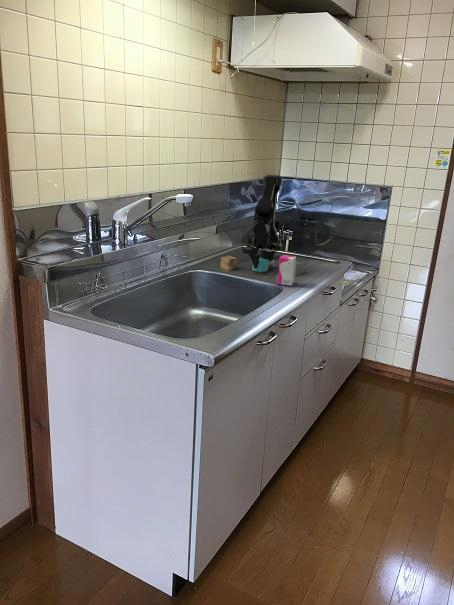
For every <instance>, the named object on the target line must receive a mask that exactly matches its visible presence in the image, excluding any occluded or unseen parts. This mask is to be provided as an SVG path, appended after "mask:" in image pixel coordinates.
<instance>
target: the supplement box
mask: <svg viewBox="0 0 454 605" xmlns="http://www.w3.org/2000/svg"><path fill="white" fill-rule="evenodd" d="M296 261H297V256H295V255H285V254H282V255H281V256H280V257H279V264H278V265H279V266H278V276H277V286H280V287H281V286H282V287H283V286H284V287H289V288H290V287H291V288H292V286H293V285H294V284H295V276H296V275H295V266H296Z"/></svg>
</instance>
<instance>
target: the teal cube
mask: <svg viewBox="0 0 454 605" xmlns="http://www.w3.org/2000/svg"><path fill="white" fill-rule="evenodd" d="M269 265H270V262H269V260H267V259H263V258H259V262H258V265H257V268H256V269H254V266H253V265H252V271H255V272H258V273H264V272H267V271H269V267H270V266H269Z"/></svg>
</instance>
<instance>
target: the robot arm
mask: <svg viewBox="0 0 454 605" xmlns="http://www.w3.org/2000/svg"><path fill="white" fill-rule="evenodd" d="M262 180H263V182H262V184H263V186H264V187H263V188H264V189H263V192H262V196H261V198H260V199H259V200H258V202H257V205H255V210H254V215H253V221H256V223H255V225H254V226H253V228H252V231H253V237H252V238H251V237H250V236H245V237H243V244H244V245H245V246H243V247H242V254H245V255H248V256H249V257H250V260H251V262H252V266H254V269H256V268H257V265H258V262H259V258H263V259H267V260H269V263H270V262H271V261H272V260H275V259H277V257H275V254H276V253H277V252H279V251H280V250H281V245H280V242H279V241H280V238H279V236H278V234H277V233H278V232H277V228H276V226H275V218H276V207H277V195H278V194H279V192H280V190H281V187H282V186H283V182H284V181H283V180H284V179H283V177H281V175H277V174H266V176H263V179H262ZM259 252H260V253H259Z"/></svg>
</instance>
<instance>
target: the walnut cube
mask: <svg viewBox="0 0 454 605" xmlns="http://www.w3.org/2000/svg"><path fill="white" fill-rule="evenodd" d="M237 261H238V258H237V257H235V256H231V255H226V256H221V257H220V269H222V270H225V269H226V270H225V271H233V270H237V264H238V262H237Z"/></svg>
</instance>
